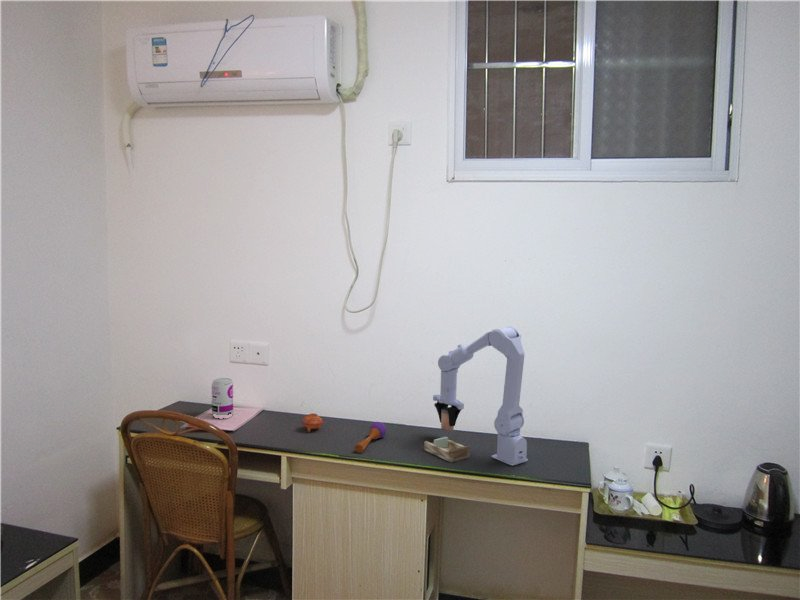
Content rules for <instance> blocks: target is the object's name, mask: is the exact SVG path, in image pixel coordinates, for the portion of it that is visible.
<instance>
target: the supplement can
mask: <svg viewBox="0 0 800 600" xmlns="http://www.w3.org/2000/svg"><path fill="white" fill-rule="evenodd" d="M212 413H213V414H216V415H229V414H232V413H233V414H234V382H233V380H232V378H228V377H221V378H219V377H218V378H215V379H213V381H212V383H211V414H212Z"/></svg>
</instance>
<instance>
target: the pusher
mask: <svg viewBox="0 0 800 600" xmlns="http://www.w3.org/2000/svg"><path fill="white" fill-rule="evenodd" d="M442 437H443V438H441V437H440V438H436V439H433V442H434V445H437V446H439V447H441V448H445V447H448V439H449V437H448V436H442Z"/></svg>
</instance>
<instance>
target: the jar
mask: <svg viewBox="0 0 800 600" xmlns="http://www.w3.org/2000/svg"><path fill="white" fill-rule="evenodd" d="M440 429H441V430H443V431H453V430H454V429H455V426H452V427H451V426H450V425H449V414H448V411H447V408H442V409H441V424H440Z"/></svg>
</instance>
